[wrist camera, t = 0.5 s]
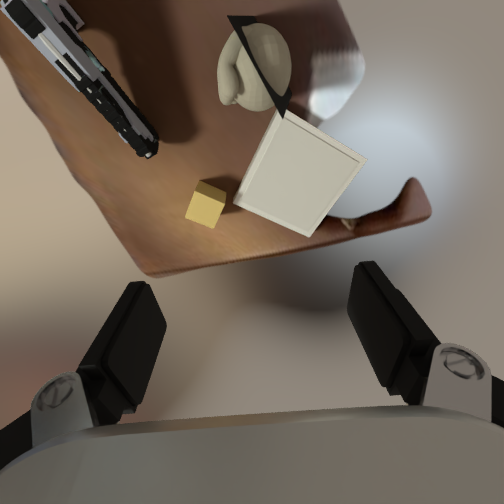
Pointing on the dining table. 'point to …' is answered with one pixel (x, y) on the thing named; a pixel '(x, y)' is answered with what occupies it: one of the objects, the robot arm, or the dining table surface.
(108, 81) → the toy gun
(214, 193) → the mustard cube
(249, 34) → the decorative object
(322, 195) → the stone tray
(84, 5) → the dining table surface
